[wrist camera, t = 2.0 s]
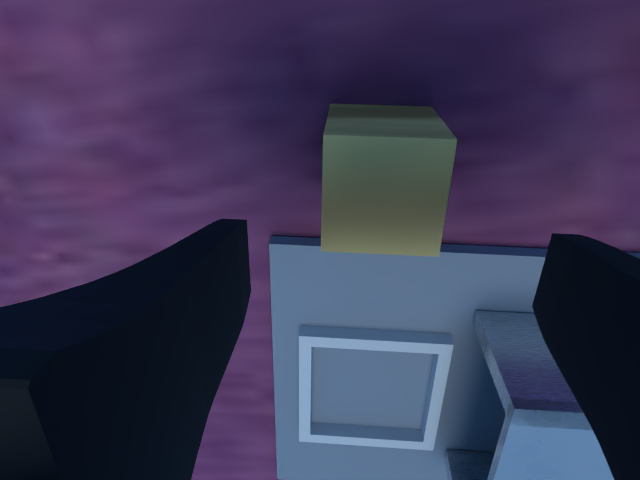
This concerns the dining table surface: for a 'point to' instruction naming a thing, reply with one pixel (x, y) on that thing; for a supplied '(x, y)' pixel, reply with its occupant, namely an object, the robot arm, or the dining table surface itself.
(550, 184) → the dining table surface
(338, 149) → the block
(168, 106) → the dining table surface
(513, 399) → the housing cover
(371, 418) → the board
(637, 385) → the robot arm
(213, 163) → the dining table surface
